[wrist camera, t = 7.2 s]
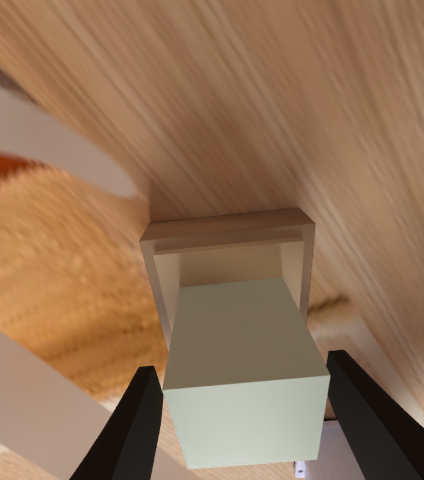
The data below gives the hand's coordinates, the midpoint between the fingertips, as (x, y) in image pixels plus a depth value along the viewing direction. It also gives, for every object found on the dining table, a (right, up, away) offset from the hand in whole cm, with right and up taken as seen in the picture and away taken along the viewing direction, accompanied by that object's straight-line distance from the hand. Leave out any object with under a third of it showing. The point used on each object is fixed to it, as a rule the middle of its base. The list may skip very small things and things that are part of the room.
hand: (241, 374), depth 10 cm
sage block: (0, +1, +3) cm, 3 cm away
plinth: (0, +2, +5) cm, 6 cm away
